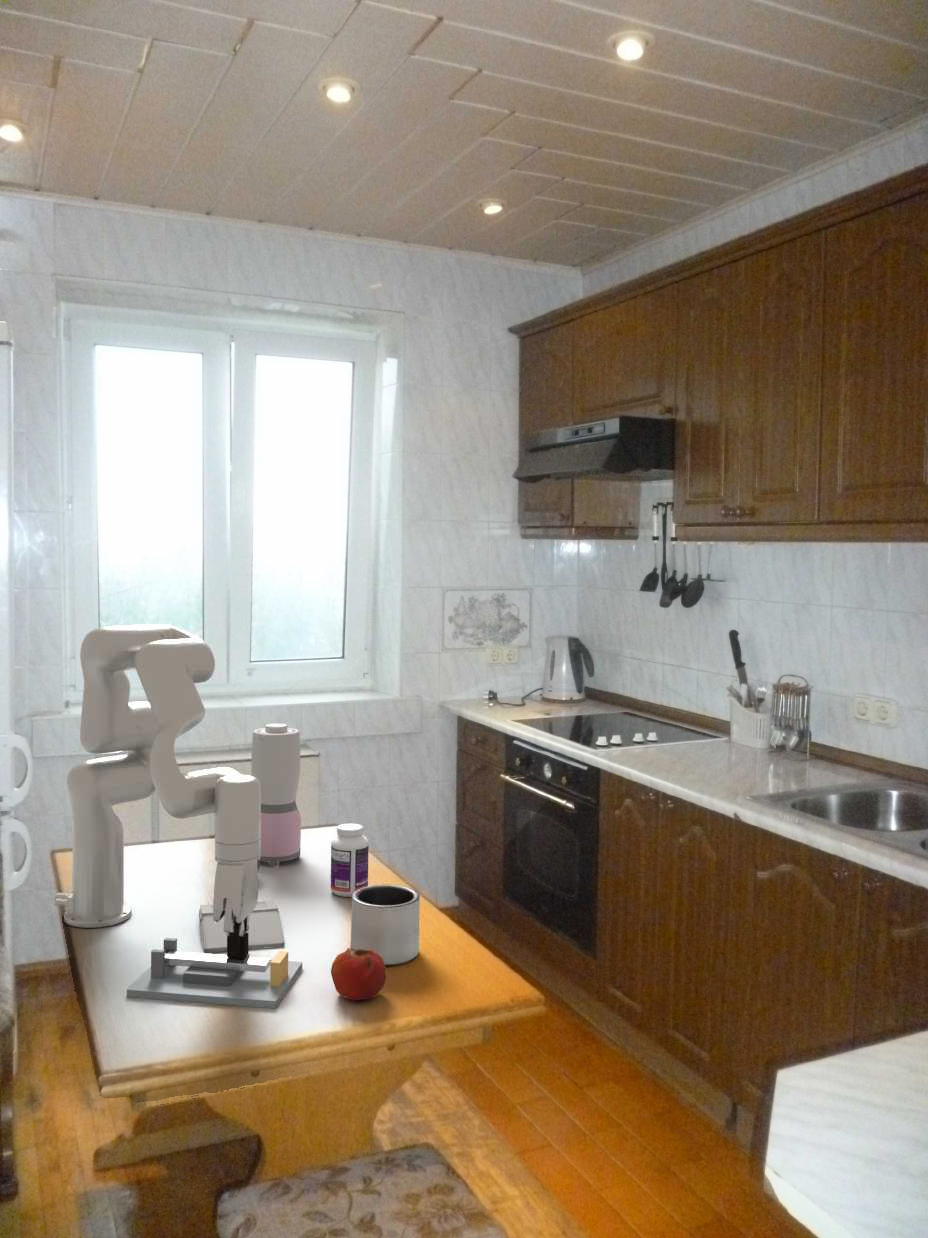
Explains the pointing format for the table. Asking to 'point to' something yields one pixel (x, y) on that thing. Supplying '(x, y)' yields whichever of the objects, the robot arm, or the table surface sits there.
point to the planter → (386, 922)
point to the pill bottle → (349, 860)
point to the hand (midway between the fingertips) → (237, 956)
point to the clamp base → (215, 994)
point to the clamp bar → (216, 961)
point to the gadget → (260, 934)
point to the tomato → (358, 974)
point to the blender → (278, 791)
